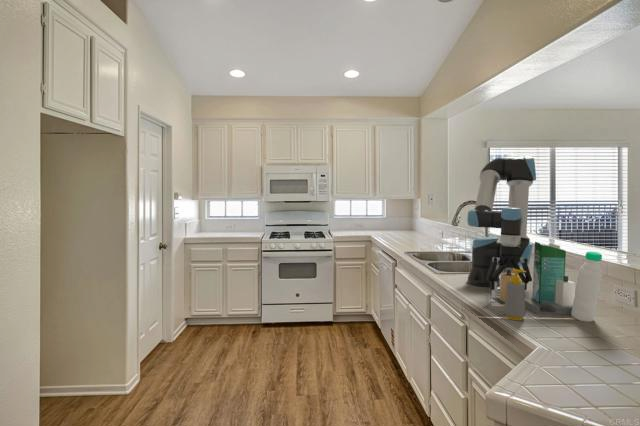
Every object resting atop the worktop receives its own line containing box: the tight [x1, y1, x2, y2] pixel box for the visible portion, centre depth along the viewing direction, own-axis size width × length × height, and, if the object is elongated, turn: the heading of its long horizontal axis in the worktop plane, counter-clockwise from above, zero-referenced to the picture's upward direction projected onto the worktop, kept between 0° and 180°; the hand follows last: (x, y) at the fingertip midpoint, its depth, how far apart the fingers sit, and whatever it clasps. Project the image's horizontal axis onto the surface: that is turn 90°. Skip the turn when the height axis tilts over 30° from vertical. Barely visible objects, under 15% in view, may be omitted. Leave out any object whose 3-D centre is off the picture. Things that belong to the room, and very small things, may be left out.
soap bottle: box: [503, 268, 526, 321], centre depth 141 cm, size 7×7×18 cm
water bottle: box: [570, 251, 604, 323], centre depth 139 cm, size 7×7×25 cm
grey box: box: [525, 275, 576, 315], centre depth 149 cm, size 9×21×14 cm, turn 90°
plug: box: [499, 269, 515, 302], centre depth 161 cm, size 4×4×13 cm
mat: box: [491, 297, 505, 306], centre depth 161 cm, size 10×10×1 cm
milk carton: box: [532, 241, 567, 304], centre depth 162 cm, size 9×9×25 cm
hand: (507, 297), depth 161 cm, fingers open, 11 cm apart
